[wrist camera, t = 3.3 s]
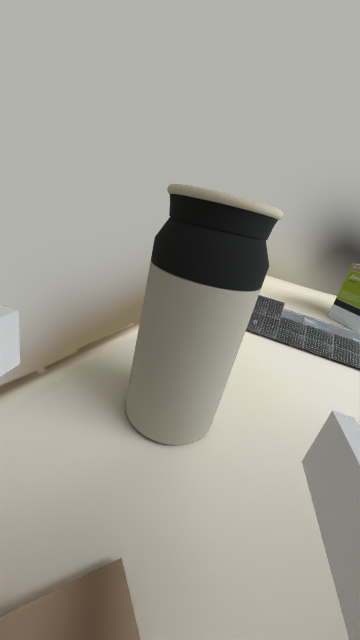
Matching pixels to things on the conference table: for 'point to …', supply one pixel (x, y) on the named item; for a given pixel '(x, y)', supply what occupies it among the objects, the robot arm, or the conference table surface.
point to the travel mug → (196, 310)
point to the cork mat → (78, 611)
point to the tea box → (348, 301)
